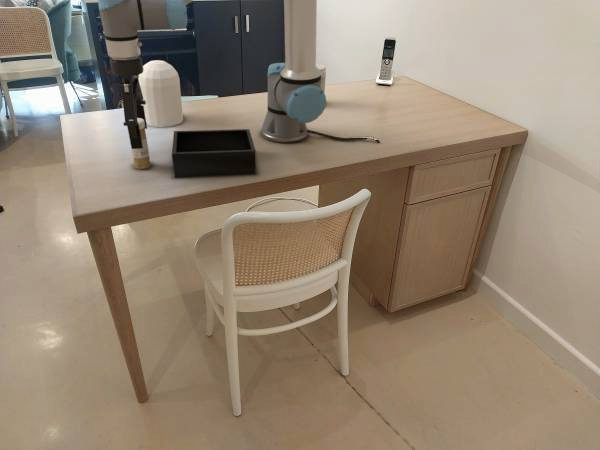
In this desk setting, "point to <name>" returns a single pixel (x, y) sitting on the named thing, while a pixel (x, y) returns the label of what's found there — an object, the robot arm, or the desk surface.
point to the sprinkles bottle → (141, 154)
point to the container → (161, 94)
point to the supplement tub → (322, 75)
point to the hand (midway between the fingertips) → (139, 137)
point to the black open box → (213, 153)
